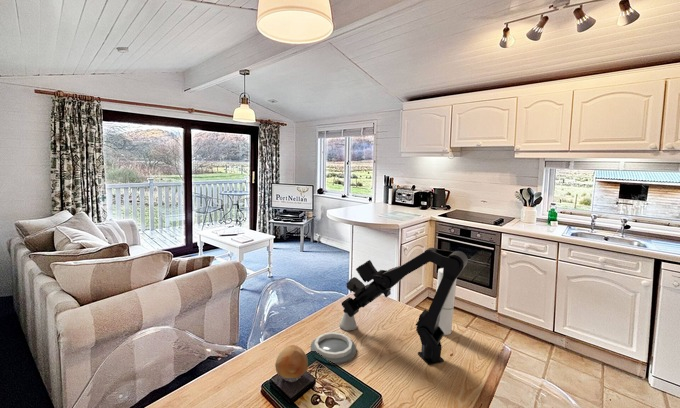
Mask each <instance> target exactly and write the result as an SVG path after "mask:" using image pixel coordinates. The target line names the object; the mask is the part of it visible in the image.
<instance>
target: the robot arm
mask: <svg viewBox="0 0 680 408" xmlns="http://www.w3.org/2000/svg"><path fill="white" fill-rule="evenodd" d="M468 262H469V259H468V256H467V255H466V254H465V252H463V251H461V250H455V251H452V250H446V249H438V248H435V247H429V248H427V249H425V250H424V252H421V253H420V254H418V255H417V256H415V257H413V258H411V259H410V260H408V261H407V262H405V263H403V264H402V265H398V266H395V267H392V268H389V269H388V270H387V269H385V270H383V269H380V270H377V268H376V267H375V266H374V265H373V263H372V261H371V260H370V259H368V260H367V261H366V262H364V263H363V264H360V265H359V266H358V267H356V268H355V271H356V272H357V273H358V275H359V277H360V278H361V280H362V281H363V282H364V283H368V284H366V285H365V284H364V283H363V282H362V281H361V280H360V279H359V278H358V277H355V276H354V277H352V278H351V279H349V280H348V282H346V285H345V286H346V289H347V290H349V291H350V292H353V295H352V296H354V298H353V297H350V296H349V297H347V298H345V300H344V301H341V306H342V307H343V310H342V311H343V314H344V313H347V314H348V315H349V317H352V316H353V315H354V316H355V315H356V314H358V313H359V311H360V309H361V308H364V307H366V306H367V305H368V304H370V303H372V302H374V301H375V300H376V299H377V298H379V297H380V296H381V295H384V297H385V298H388V297H389V296H390V295H392V294H391V289H392V288H393V287H395V286H396V285H397V284H398V283H400V282H401V281H402V280H403V279H404V278H405V277H406V276H408V275H409V274H411V273H413V272H414V271H416V270H417V269H420V268H421V267H423V266H424V265H426V264H428V263H433V264H434V265H436V266H438V267H440V268H443V277H442V280H441V282H440V285H439V287H438V289H437V288H436V289H437V291H435V294H434V296H433V298H432V301H431V303H430V306H429V308H428V310H427V309H426V308H425V309H423V311H421V313H420V314H419V317H418V321H417V322H416V323H415V326H416V328H415V329H416V330H415V331H416V333H417V335H418V336H419V339H420V343H421V350H420V351H418V352H417V355H418V356H419V357H420V358H421V359H422V360H423V361H424V362H425V363H426V364H427V365H429V366H430V365H434V364H440V363H443V362H445V359H444V358H443V357H441V355H442V345H443V344H442V342H441V340H442V339H443V338H444V336H445V335H444V332H443V331H442V330H441V328H440V327H439V321H440V313H441V311H442V309H443V306H444V304H445V302H446V300H447V297H448V295H449V293H450V291H451V288H452V286H453V284H454V282H455V280H456V278H458V277H459V276H460V275H461V273H462V271H463V270H464V268H465V267H466V266H467V265H468ZM456 281H457V280H456Z"/></svg>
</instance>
